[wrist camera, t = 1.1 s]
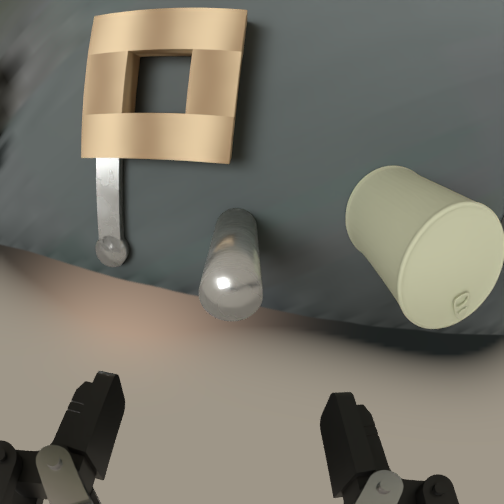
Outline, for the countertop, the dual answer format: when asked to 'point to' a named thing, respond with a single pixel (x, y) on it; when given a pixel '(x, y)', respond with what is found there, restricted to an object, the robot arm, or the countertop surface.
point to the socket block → (199, 88)
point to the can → (426, 244)
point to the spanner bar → (110, 212)
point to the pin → (232, 268)
